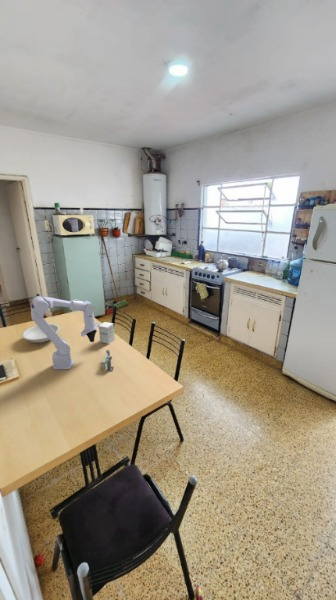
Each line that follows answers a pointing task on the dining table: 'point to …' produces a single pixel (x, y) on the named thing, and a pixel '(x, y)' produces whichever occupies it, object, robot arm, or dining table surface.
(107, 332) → the supplement box
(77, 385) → the dining table surface
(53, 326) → the soup bowl
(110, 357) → the hinge post
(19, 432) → the dining table surface
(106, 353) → the gate
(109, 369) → the post
